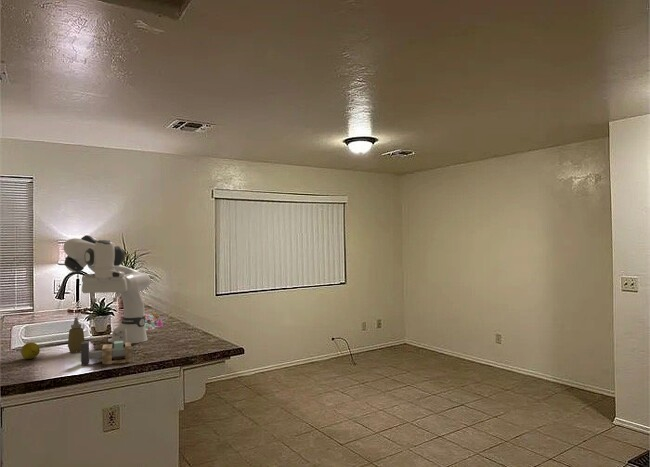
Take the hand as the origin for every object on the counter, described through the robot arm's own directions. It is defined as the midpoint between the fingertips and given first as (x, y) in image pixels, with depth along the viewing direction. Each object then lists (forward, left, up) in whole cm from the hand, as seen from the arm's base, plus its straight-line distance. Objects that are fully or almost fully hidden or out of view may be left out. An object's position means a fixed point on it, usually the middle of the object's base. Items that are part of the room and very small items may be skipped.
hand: (104, 301), depth 229 cm
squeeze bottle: (-28, +7, -29) cm, 40 cm away
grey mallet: (+4, -2, -28) cm, 28 cm away
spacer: (+7, +1, -23) cm, 24 cm away
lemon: (-38, -11, -29) cm, 49 cm away
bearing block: (+7, +1, -28) cm, 29 cm away
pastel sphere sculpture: (-42, +70, -29) cm, 87 cm away
